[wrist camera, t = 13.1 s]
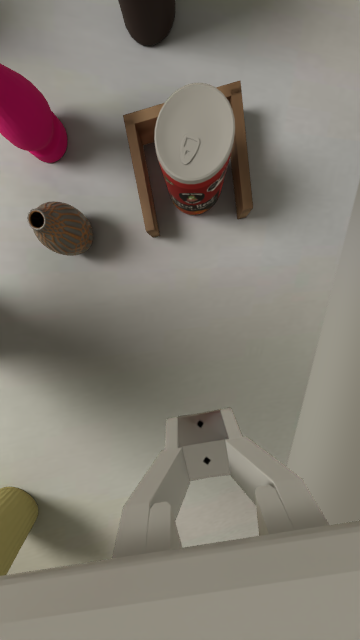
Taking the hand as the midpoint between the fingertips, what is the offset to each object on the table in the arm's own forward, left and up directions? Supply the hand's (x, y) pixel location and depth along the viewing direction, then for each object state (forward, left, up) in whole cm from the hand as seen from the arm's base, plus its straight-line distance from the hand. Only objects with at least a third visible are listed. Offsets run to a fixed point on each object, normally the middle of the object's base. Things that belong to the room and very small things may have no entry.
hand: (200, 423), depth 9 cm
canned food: (+3, +20, -25) cm, 32 cm away
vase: (-17, +17, -25) cm, 34 cm away
